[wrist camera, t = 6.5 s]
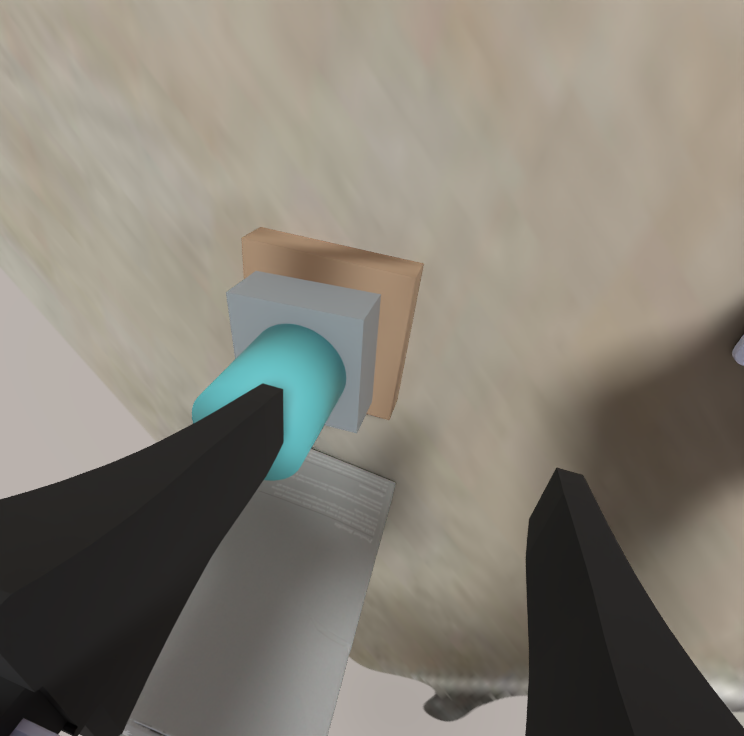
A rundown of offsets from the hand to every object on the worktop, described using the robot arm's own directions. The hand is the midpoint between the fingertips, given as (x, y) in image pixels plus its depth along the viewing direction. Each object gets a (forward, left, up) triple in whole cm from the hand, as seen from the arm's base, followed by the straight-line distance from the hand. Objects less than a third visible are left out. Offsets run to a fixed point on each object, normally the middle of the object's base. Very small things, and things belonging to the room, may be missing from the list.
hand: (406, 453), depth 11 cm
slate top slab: (+6, +3, -9) cm, 11 cm away
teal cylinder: (+6, +3, -6) cm, 9 cm away
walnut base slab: (+6, +3, -11) cm, 13 cm away
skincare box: (+5, +15, -11) cm, 19 cm away
